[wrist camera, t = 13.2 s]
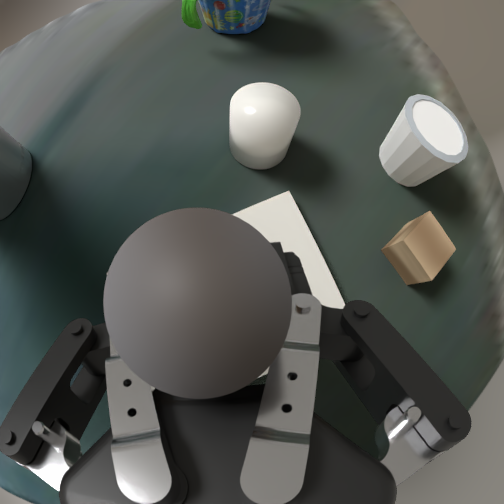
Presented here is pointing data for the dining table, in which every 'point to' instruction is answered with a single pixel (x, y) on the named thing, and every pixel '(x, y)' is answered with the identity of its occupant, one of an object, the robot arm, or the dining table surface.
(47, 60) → the dining table surface
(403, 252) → the wooden block
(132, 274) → the pepper mill
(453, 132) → the white tapered cylinder
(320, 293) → the stone tile
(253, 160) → the white rounded cylinder
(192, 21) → the snack cup
